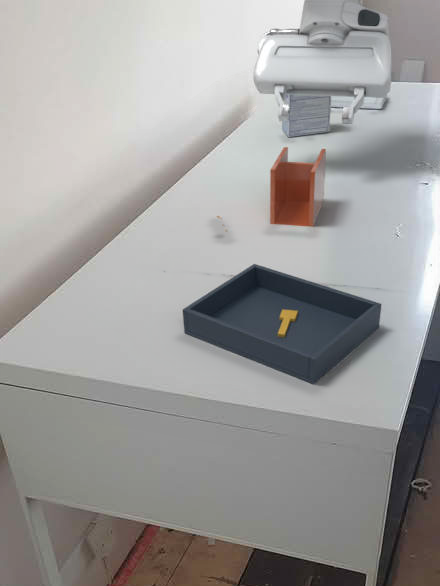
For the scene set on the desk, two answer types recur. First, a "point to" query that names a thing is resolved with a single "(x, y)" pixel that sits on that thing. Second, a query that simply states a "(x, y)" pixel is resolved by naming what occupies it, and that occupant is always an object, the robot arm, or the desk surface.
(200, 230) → the desk surface
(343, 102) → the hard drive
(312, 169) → the orange open trough
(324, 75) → the robot arm
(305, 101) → the medicine box
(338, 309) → the tray
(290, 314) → the key
